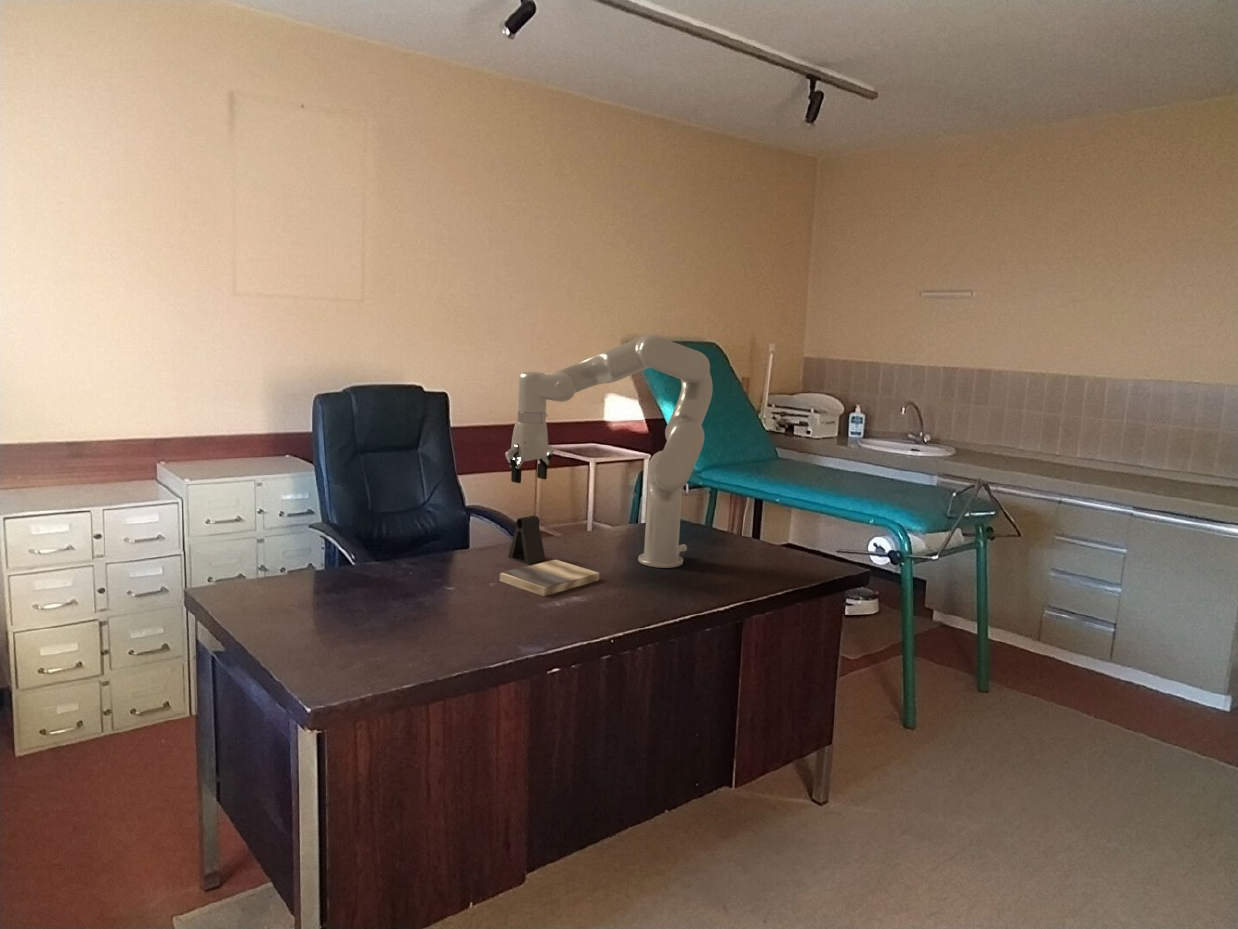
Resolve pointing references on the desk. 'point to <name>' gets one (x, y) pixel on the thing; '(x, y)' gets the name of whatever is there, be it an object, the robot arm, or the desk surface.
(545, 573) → the subfloor panel
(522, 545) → the dark a-frame stand
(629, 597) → the desk surface
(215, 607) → the desk surface
